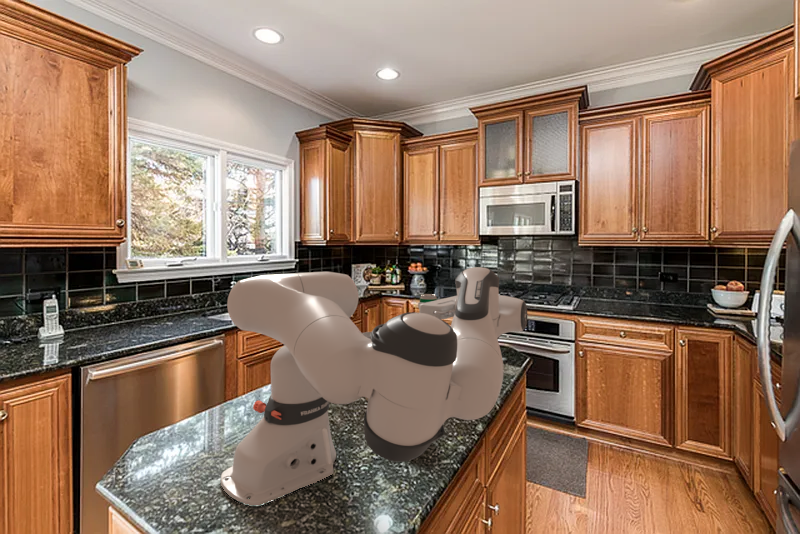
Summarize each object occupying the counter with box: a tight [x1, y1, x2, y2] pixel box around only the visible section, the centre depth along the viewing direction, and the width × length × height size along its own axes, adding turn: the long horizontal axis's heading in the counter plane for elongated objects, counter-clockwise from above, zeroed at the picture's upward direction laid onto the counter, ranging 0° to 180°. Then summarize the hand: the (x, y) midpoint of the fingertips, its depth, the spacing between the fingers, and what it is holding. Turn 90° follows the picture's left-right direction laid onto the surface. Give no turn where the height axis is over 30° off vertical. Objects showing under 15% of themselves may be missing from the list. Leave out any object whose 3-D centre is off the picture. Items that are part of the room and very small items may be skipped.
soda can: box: [419, 293, 438, 303], centre depth 111 cm, size 5×5×12 cm
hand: (426, 303), depth 112 cm, fingers closed on soda can, 5 cm apart
